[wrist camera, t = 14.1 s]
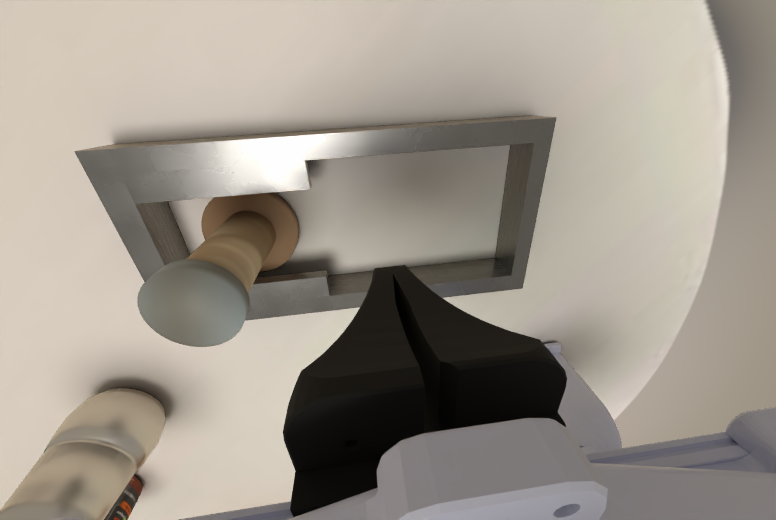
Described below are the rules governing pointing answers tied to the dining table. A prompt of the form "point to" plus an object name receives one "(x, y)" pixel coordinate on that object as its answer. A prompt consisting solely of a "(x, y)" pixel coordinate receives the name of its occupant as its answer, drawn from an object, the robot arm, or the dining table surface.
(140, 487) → the supplement bottle
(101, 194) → the keyhole plate
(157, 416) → the plastic bottle
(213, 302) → the peg
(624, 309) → the dining table surface
